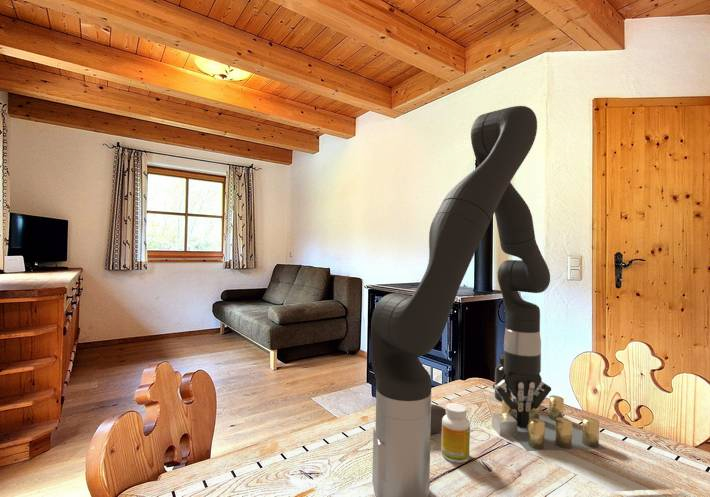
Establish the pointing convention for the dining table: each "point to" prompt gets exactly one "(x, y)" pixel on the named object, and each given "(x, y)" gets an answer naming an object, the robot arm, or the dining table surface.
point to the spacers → (557, 426)
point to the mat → (551, 437)
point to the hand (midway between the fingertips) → (521, 426)
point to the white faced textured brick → (504, 424)
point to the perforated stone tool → (436, 418)
